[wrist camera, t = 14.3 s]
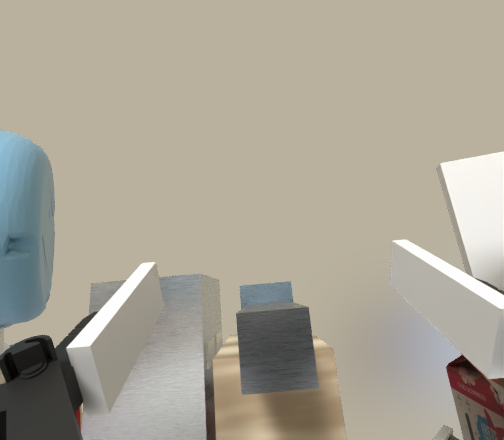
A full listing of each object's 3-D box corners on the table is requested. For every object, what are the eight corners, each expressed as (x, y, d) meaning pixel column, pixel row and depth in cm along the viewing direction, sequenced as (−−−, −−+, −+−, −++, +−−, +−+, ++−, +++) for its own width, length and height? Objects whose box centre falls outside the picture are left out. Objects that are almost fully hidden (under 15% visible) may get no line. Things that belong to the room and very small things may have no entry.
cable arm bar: (338, 386, 14) (321, 268, 16) (222, 396, 14) (216, 278, 16) (292, 330, 35) (286, 282, 37) (246, 334, 35) (242, 286, 37)
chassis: (213, 583, 27) (201, 273, 35) (70, 594, 27) (91, 283, 35) (230, 477, 42) (219, 279, 50) (139, 484, 42) (143, 286, 50)
